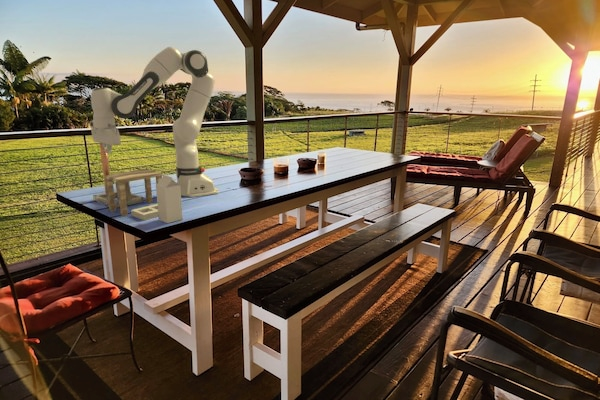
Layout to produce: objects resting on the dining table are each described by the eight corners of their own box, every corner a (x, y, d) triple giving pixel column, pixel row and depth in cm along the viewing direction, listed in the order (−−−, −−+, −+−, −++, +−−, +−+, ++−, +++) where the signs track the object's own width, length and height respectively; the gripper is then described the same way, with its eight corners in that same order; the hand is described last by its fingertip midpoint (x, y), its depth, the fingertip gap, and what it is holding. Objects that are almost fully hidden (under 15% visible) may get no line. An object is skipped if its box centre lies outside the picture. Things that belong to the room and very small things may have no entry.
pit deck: (173, 212, 172) (173, 207, 172) (144, 220, 162) (143, 214, 161) (160, 208, 178) (160, 203, 178) (131, 215, 168) (131, 210, 167)
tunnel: (165, 206, 181) (162, 172, 177) (123, 216, 166) (119, 179, 161) (149, 201, 189) (146, 168, 184) (109, 210, 174) (104, 175, 169)
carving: (128, 200, 189) (126, 176, 186) (134, 204, 184) (132, 179, 181) (115, 203, 185) (112, 178, 182) (121, 206, 180) (118, 181, 177)
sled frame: (143, 201, 187) (137, 144, 179) (114, 208, 176) (107, 147, 169) (121, 194, 199) (115, 140, 191) (93, 200, 188) (86, 143, 180)
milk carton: (167, 223, 158) (163, 178, 153) (158, 219, 163) (154, 175, 158) (182, 219, 164) (179, 175, 158) (173, 216, 168) (170, 173, 163)
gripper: (122, 124, 177) (125, 154, 180) (101, 121, 189) (104, 150, 192) (108, 125, 172) (112, 156, 175) (87, 122, 184) (91, 151, 188)
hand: (108, 153), depth 184 cm, fingers closed
